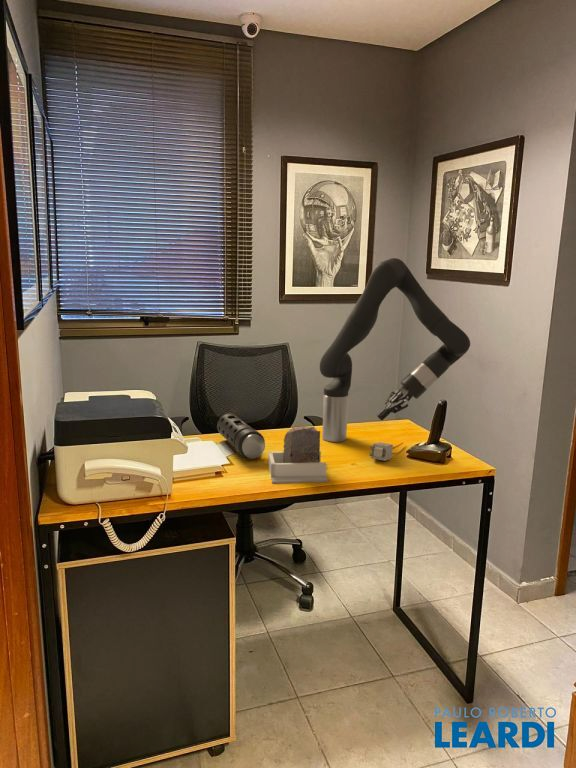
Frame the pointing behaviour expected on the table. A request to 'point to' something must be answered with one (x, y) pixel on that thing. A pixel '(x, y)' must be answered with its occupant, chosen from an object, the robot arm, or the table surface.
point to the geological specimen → (302, 445)
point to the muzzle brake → (241, 436)
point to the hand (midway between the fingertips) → (379, 418)
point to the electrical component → (382, 451)
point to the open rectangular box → (295, 470)
